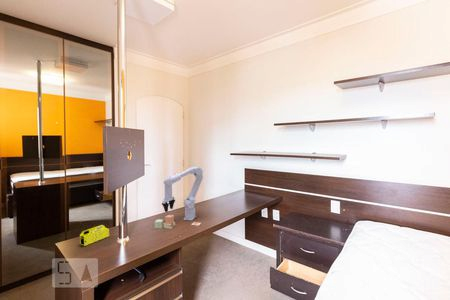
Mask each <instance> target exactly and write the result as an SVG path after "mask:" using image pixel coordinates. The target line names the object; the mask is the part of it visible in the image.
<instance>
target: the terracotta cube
mask: <svg viewBox="0 0 450 300" xmlns="http://www.w3.org/2000/svg"><path fill="white" fill-rule="evenodd" d="M173 222H175V215H174V214H167V215H165V216H164V223H165V224H172V223H173Z"/></svg>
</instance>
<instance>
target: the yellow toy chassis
mask: <svg viewBox="0 0 450 300" xmlns="http://www.w3.org/2000/svg"><path fill="white" fill-rule="evenodd" d="M109 236H110V229H109V227H108V228H107V227H106V226H105V225H104V224H101V225H98V226H93V227H92V228H89V229H86V230H83V231H81V233H80V234H79V244H80V245H82V246H84V247H85V246H89V245H91V244H93V243H95V242H98V241H101V240H103V239H105V238H108V237H109Z"/></svg>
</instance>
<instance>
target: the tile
mask: <svg viewBox="0 0 450 300" xmlns="http://www.w3.org/2000/svg"><path fill="white" fill-rule="evenodd" d="M200 225H201V222H197V221H194V222H193V223H191V226H197V227H198V226H200Z"/></svg>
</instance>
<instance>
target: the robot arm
mask: <svg viewBox="0 0 450 300" xmlns="http://www.w3.org/2000/svg"><path fill="white" fill-rule="evenodd" d="M190 174H193V175H194V177H195V180H194V181H193V182H194V183H193V184H192V187H191V190H190V192H189V194H188V196H187V197H186V198H185V199H184V201H183V204H184V217H183V221H193V220H194V219H195V218H197V215H196V208H195V202H196V195H197V193H198V191H199V188H200V187H201V183H202V181H203V179H204V178H203V177H204V176H203V169H202V167H200V166H196V165H193V166H190V167H189V168H188V169H186V170H184V171H181V172H180V173H174V174H173V175H171V176H169V177H166V178H165V179H164V180H163V184H164V198H163V200H162V203H161V205H162V207H163V209H164V212H165V213H168V212H169V209H170V210H173V209H174V206H175V205H174V204H175V203H176V199H175V196H173V184H175V183H177V182H179V181H180V180H181V179H182V178H183V177H185V176H188V175H190Z"/></svg>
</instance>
